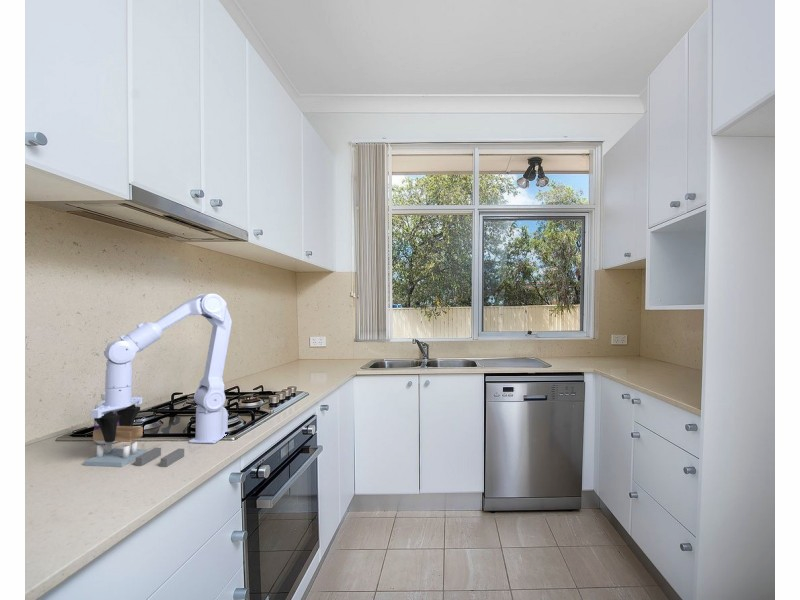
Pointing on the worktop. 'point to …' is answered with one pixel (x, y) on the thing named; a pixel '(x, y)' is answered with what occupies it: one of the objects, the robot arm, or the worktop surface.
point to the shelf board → (121, 433)
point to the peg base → (114, 455)
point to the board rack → (156, 453)
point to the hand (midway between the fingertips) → (117, 438)
